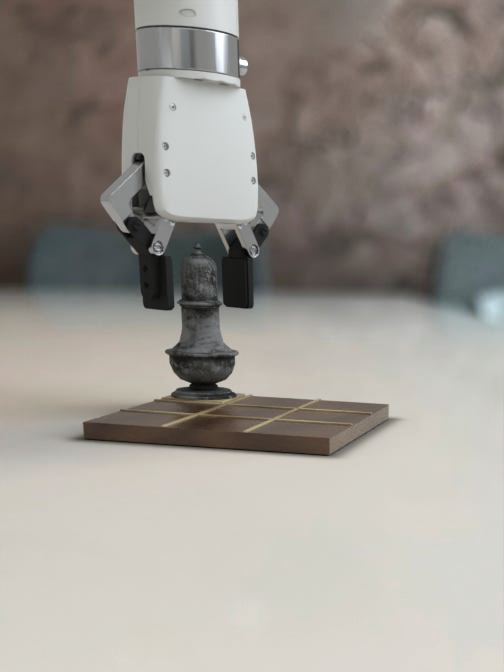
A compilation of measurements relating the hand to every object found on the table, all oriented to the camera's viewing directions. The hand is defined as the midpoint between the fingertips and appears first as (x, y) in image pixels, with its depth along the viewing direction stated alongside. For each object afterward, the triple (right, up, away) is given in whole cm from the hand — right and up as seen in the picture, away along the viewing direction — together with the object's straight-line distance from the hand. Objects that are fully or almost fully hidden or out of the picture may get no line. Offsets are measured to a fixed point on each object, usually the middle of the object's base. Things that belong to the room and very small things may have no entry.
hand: (199, 306), depth 89 cm
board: (+5, -10, -4) cm, 12 cm away
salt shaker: (0, -7, +2) cm, 7 cm away
